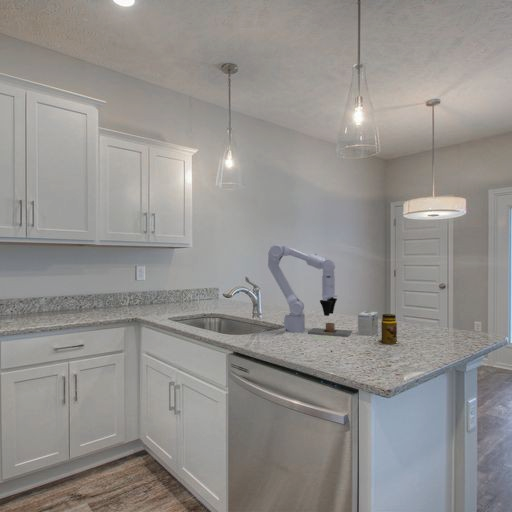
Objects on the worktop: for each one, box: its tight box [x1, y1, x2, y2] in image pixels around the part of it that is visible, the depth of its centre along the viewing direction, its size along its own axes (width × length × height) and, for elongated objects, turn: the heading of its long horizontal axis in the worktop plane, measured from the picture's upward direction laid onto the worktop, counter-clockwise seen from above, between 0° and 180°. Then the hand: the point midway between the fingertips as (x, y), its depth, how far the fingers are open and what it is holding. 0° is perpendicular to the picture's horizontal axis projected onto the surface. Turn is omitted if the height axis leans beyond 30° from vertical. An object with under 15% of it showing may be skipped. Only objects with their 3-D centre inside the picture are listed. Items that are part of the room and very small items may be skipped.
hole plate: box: [307, 327, 353, 338], centre depth 171 cm, size 18×10×3 cm, turn 66°
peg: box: [325, 322, 336, 333], centre depth 171 cm, size 4×4×6 cm
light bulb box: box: [357, 311, 379, 337], centre depth 171 cm, size 11×7×11 cm, turn 149°
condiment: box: [375, 313, 400, 346], centre depth 157 cm, size 7×8×12 cm
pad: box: [310, 335, 338, 342], centre depth 160 cm, size 10×7×2 cm
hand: (328, 314), depth 175 cm, fingers open, 7 cm apart
